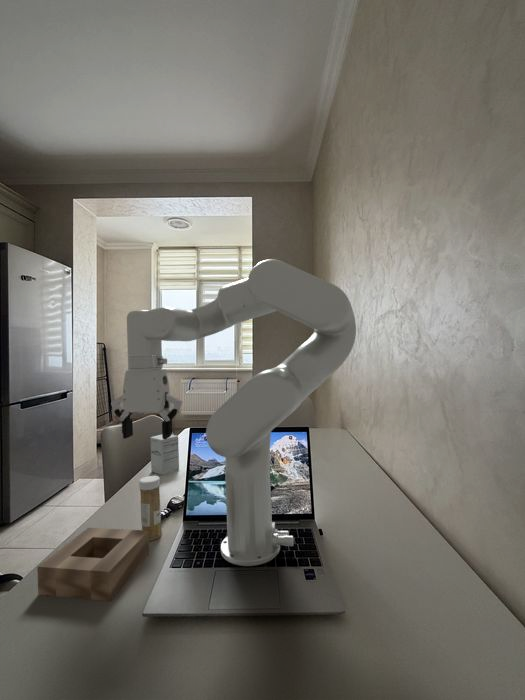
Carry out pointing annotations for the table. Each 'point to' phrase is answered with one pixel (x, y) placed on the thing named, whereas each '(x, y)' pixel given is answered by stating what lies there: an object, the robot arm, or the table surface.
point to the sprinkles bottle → (150, 506)
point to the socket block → (94, 564)
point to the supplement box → (164, 454)
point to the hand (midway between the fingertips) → (147, 437)
